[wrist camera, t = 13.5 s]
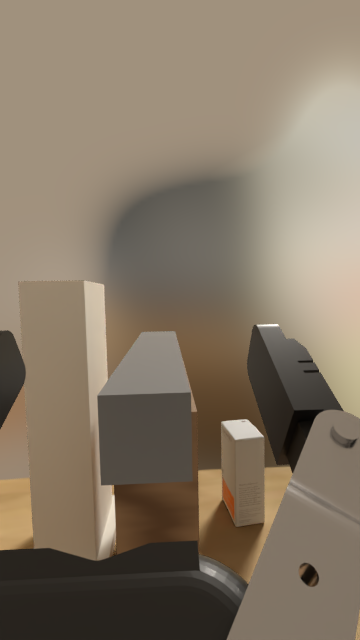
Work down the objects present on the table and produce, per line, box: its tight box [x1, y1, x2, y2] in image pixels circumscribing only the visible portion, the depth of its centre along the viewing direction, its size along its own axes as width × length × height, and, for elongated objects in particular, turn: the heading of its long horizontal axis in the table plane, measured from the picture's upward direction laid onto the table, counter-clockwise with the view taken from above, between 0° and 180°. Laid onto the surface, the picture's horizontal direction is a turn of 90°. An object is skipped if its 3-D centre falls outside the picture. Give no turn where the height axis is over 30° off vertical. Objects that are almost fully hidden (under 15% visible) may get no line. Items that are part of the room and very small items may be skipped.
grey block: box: [97, 331, 193, 486], centre depth 25 cm, size 4×24×4 cm, turn 3°
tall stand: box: [18, 280, 116, 561], centre depth 37 cm, size 9×13×32 cm
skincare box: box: [221, 419, 264, 527], centre depth 43 cm, size 6×4×12 cm
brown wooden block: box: [114, 359, 199, 554], centre depth 32 cm, size 6×18×22 cm, turn 3°
